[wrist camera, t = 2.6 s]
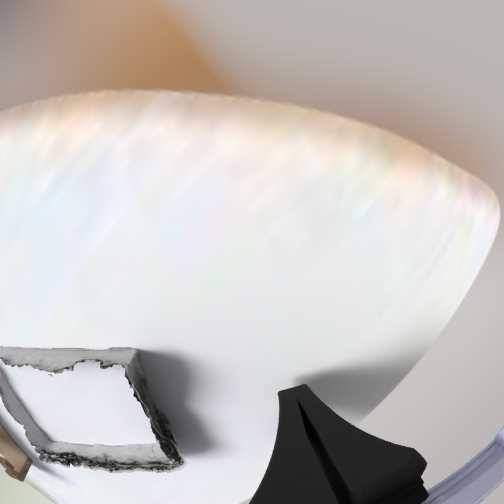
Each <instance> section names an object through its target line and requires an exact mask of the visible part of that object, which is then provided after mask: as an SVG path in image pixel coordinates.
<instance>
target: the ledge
mask: <svg viewBox="0 0 504 504" xmlns="http://www.w3.org/2000/svg"><path fill="white" fill-rule="evenodd" d="M32 462H33V461H32V460H31V459H30V458H29V457H28V456H27V455H26V454H25V453H24V452H23V451H22V450H21V448H20V447H19V446H18V445H17V444H16V443H15V442H14V440H13V439H12V438H11V437H10V436H9V434H8V433H7V432H6V431H5V430H4V428H3V427H2V426H1V424H0V463H1V464H2V466H3V467H4V468H6V471H5V472H6V473H7V474H8V475H9V476H11V477H13V478H15V479H17V480H19V481H22V482H23V481H24V479H25V477H26V474H27V472H28V470H29V468H30V466H31V464H32Z"/></svg>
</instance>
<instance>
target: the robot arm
mask: <svg viewBox="0 0 504 504" xmlns="http://www.w3.org/2000/svg"><path fill="white" fill-rule="evenodd" d="M278 397H279V423H278V430H277V436H276V441H275V446H274V449H273V453H272V456H271V459H270V462H269V465H268V468H267V470H266V473H265V475H264V477H263V479H262V481H261V483H260V485H259V487H258V489H257V491H256V493H255V494H254V496H253V498H252V499H251V501H250V503H249V504H479V503H480V502H481V501H482V500H483V499H484V498H486V497H487V496H488V495H489V494H490V493H491V492H492V491H493V490H494V489H495V488H497V487H498V486H499V485H500V484H501V483H502V481H504V426H503V427H502V428H501V429H500V431H499V432H498V433H497V435H496V437H495V439H494V440H493V441H492V442H491V443H490V444H489V445H488V446H486V447H485V448H484V449H483V450H482V451H481V452H480V453H478V454H477V455H476V456H475V457H474V458H473V459H471V460H470V461H469V462H467V463H466V464H465V465H464V466H462V467H461V468H460V469H458V470H457V471H456V472H454V473H453V474H451V475H450V476H449V477H447V478H446V479H444V480H443V481H441V482H440V483H438V484H437V485H436V486H434V487H432V488H431V489H429V490H427V491H426V489H425V488H424V486H423V483H424V481H423V480H422V478H421V475H422V474H423V472H424V470H425V468H426V466H427V462H426V461H425V459H424V458H423V457H422V456H421V455H420V454H419V453H418V452H417V451H416V450H415V449H414V448H410V447H405V446H401V445H397V444H394V443H391V442H388V441H385V440H382V439H380V438H377V437H375V436H373V435H370V434H368V433H366V432H364V431H362V430H360V429H359V428H357V427H355V426H354V425H352V424H350V423H349V422H347V421H346V420H344V419H343V418H341V417H340V416H339V415H337V414H336V413H335V412H334V411H332V410H331V409H330V408H329V407H328V406H327V405H325V404H324V403H323V402H322V401H321V400H320V399H319V398H318V397H317V396H316V395H315V394H314V393H313V392H312V391H311V389H310V388H309V387H308V386H307V385H306V384H303V385H300V386H296V387H293V388H289V389H286V390H282V391H279V392H278Z"/></svg>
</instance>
